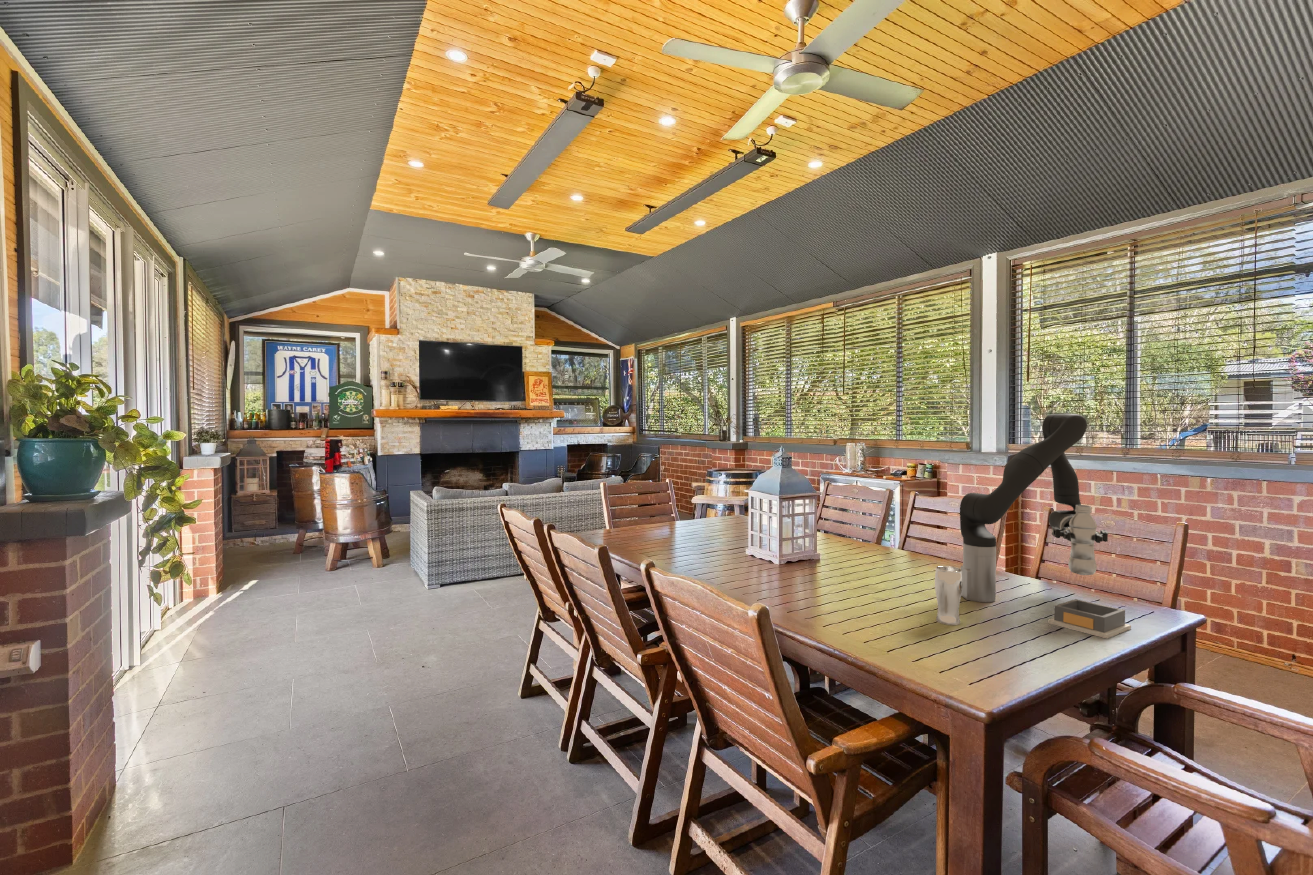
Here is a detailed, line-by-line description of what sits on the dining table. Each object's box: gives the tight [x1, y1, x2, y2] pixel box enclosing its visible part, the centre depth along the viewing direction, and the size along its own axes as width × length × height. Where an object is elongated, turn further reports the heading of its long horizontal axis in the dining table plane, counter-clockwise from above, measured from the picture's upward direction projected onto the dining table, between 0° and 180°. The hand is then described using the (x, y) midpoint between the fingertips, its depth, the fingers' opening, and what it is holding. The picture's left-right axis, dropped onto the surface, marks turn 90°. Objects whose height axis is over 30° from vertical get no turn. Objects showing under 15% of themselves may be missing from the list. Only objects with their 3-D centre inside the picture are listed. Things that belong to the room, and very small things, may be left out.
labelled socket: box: [1048, 598, 1132, 639], centre depth 164 cm, size 14×14×5 cm
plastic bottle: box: [1067, 504, 1098, 576], centre depth 173 cm, size 6×7×20 cm
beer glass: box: [934, 565, 963, 626], centre depth 167 cm, size 7×7×15 cm
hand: (1084, 538), depth 171 cm, fingers closed on plastic bottle, 6 cm apart
